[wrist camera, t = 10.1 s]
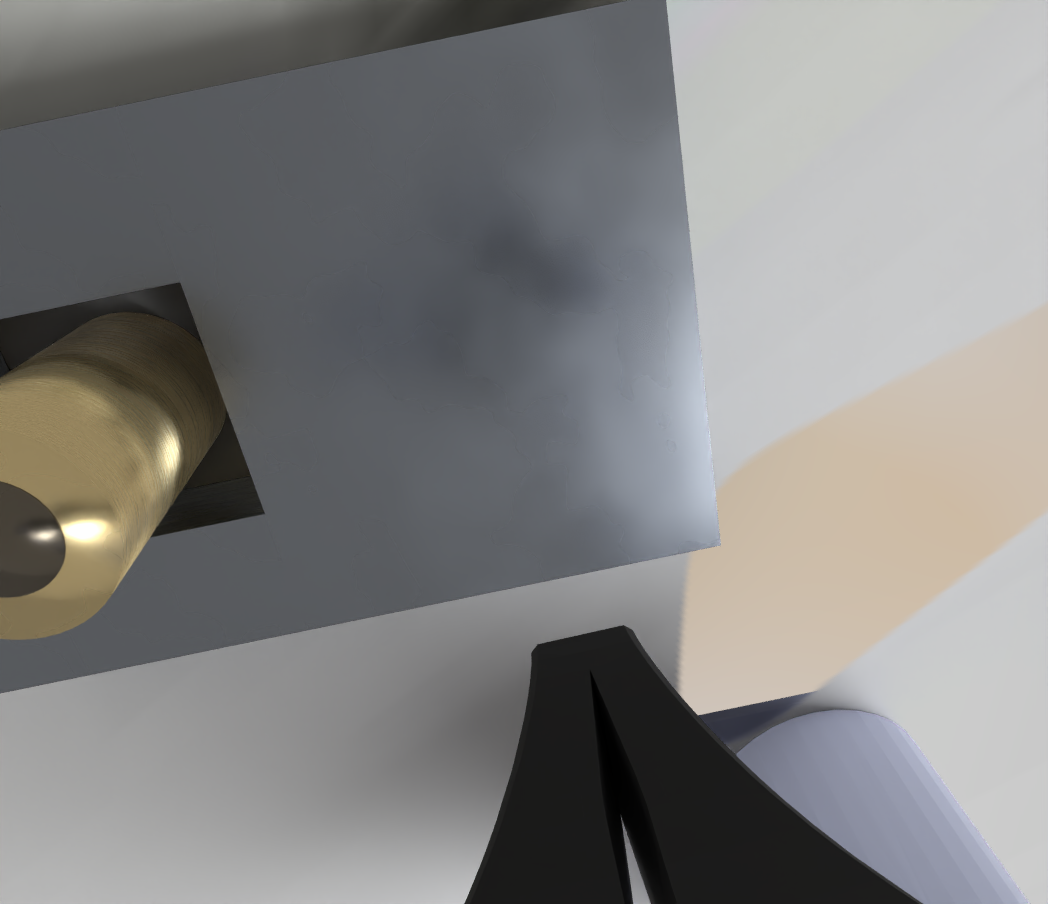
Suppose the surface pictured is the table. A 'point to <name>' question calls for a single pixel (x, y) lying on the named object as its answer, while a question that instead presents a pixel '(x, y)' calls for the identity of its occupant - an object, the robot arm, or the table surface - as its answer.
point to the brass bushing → (95, 462)
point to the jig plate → (392, 325)
